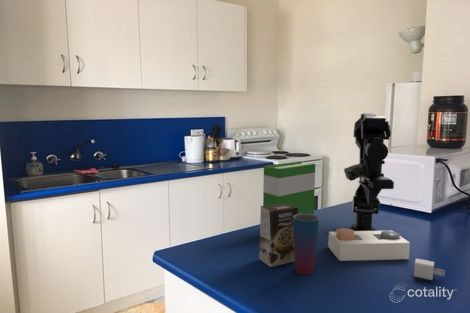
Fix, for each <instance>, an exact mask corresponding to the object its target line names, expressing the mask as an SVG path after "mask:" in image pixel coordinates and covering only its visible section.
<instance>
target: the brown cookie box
mask: <svg viewBox="0 0 470 313" xmlns="http://www.w3.org/2000/svg"><path fill="white" fill-rule="evenodd" d="M296 214H298V207H296V206H293V205H290V204H287V203H281V204H273V205H266V206H263V205H260V216H259V217H260V218H259V219H260V220H259V222H260V226H259V260H260V261H262V262H263V263H264V264H266V266H269V267H270V268H272V267H277V266H281V265H285V264H290V263H295V254H294V228H293V216H294V215H296Z"/></svg>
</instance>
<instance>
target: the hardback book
mask: <svg viewBox="0 0 470 313" xmlns="http://www.w3.org/2000/svg"><path fill="white" fill-rule="evenodd" d="M315 182H316V164H315V163H310V164H309V163H308V164H304V163H303V162H302V161H301V160H300V161H292V162H285V163H278V164H271V165H264V166H263V190H262V192H263V195H262V196H263V197H262V198H263V200H262V201H263V202H262V206H266V205H273V204H281V203H287V204H290V205H293V206H296V207H298V214H313V215H315V190H316V189H315Z"/></svg>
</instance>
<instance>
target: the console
mask: <svg viewBox="0 0 470 313" xmlns="http://www.w3.org/2000/svg"><path fill="white" fill-rule="evenodd" d="M353 231H354V240H339V239H338V238H337V236H336V231H328V243H327V244H328V245H327V247H328V248H329V249H330V251H331V252H332V253H333V255H334V256H335V257H336V258H337V260H338V261H341V262H342V261H344V262H345V261H347V262H348V261H386V260H387V261H388V260H393V261H394V260H409V259H410V246H411V245H410V244H411V243H410V241H408V240H407V239H405V238H404V237H402V236H401V235H400V237H399V238H400V239H382V240H381V232H382V231H383V230H376V231H358V230H353ZM390 231H393V232H395V231H394V230H390Z"/></svg>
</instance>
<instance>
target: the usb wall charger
mask: <svg viewBox="0 0 470 313" xmlns="http://www.w3.org/2000/svg"><path fill="white" fill-rule="evenodd" d="M414 260H415V261H414V270H413V278H419V279H424V280H428V281H433V278H434V275H436V276H442V277H445V275H446V274H445V273H446V270H445V269H440V268H435V261H430V260H427V259H421V258H415V259H414Z"/></svg>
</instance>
